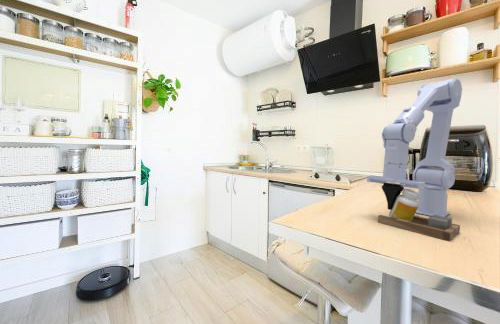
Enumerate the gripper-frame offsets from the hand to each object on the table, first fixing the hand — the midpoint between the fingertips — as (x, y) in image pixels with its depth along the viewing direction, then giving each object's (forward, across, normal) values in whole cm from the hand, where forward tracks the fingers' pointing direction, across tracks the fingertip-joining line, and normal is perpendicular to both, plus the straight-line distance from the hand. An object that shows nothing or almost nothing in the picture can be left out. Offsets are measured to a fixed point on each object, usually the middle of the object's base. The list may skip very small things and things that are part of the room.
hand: (391, 209), depth 65 cm
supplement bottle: (+3, +2, +1) cm, 4 cm away
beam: (+4, +6, +1) cm, 7 cm away
